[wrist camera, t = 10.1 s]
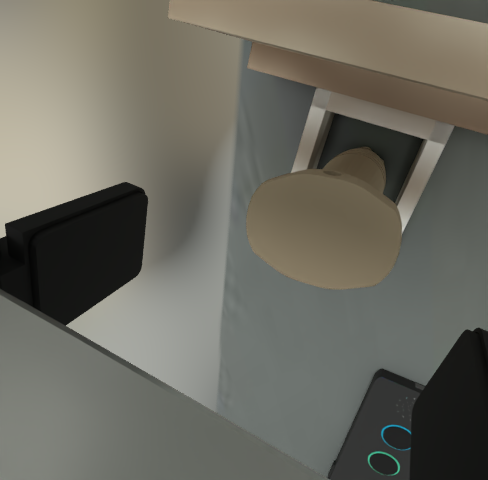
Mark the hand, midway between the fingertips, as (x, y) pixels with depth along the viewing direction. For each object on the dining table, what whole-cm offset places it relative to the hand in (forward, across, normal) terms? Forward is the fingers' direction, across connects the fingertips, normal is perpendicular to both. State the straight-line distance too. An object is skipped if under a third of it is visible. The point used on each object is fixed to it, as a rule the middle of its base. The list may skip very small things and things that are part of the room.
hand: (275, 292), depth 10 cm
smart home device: (+21, -12, +27) cm, 36 cm away
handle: (+21, 0, +1) cm, 21 cm away
